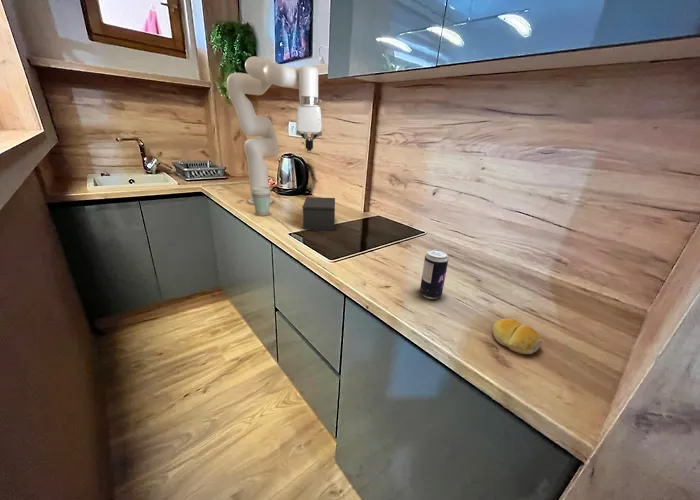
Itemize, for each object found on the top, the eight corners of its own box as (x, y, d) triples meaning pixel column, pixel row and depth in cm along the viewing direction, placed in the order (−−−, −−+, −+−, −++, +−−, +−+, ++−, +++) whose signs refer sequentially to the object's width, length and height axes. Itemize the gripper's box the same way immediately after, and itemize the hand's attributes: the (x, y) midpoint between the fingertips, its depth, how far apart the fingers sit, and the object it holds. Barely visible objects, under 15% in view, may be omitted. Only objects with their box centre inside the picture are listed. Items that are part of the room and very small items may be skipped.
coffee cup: (269, 217, 136) (267, 190, 131) (250, 216, 136) (248, 189, 131) (274, 211, 144) (272, 186, 139) (256, 211, 144) (254, 185, 139)
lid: (334, 209, 119) (334, 207, 119) (302, 208, 119) (302, 206, 118) (335, 199, 135) (335, 197, 134) (306, 198, 134) (306, 197, 134)
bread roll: (503, 323, 70) (507, 308, 68) (544, 345, 63) (550, 329, 61) (482, 335, 65) (487, 320, 64) (524, 361, 58) (530, 344, 57)
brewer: (334, 230, 124) (334, 209, 120) (303, 229, 123) (302, 208, 120) (334, 218, 138) (335, 199, 135) (306, 218, 137) (306, 198, 134)
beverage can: (437, 303, 76) (445, 260, 72) (416, 296, 79) (422, 254, 74) (444, 293, 81) (451, 252, 76) (423, 287, 83) (429, 247, 79)
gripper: (327, 103, 125) (327, 150, 132) (291, 102, 124) (292, 149, 131) (327, 102, 118) (326, 152, 125) (288, 101, 117) (290, 150, 124)
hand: (309, 150), depth 128 cm, fingers closed
